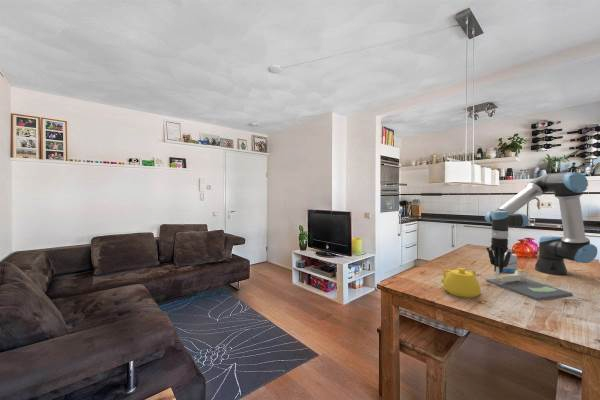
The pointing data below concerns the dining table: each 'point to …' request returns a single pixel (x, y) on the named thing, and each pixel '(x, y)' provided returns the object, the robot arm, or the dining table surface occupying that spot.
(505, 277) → the peg lever
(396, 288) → the dining table surface
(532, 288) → the board
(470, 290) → the teapot
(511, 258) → the ink box
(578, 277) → the dining table surface
